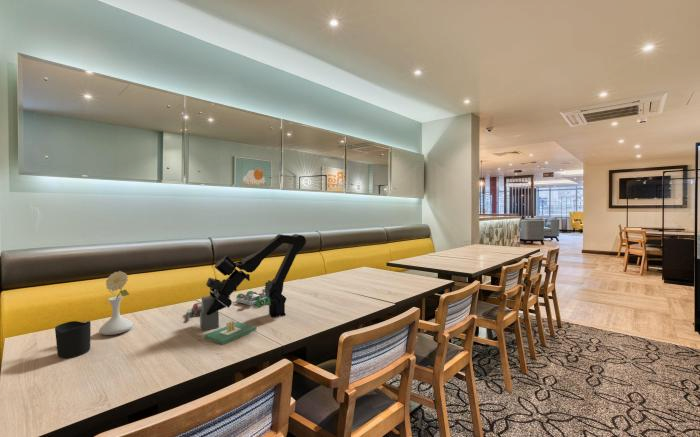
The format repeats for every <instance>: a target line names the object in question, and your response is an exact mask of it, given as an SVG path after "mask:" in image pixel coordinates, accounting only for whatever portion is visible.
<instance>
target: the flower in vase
mask: <svg viewBox="0 0 700 437" xmlns="http://www.w3.org/2000/svg"><path fill="white" fill-rule="evenodd" d="M105 281H106V282H105V285H106V289H108V292H109V293H111V294H114V295H116V296H112V297H109V298H107V301H109V303H110V304H111V305H110V306H111V308H112V316H111V317H110V318H109V320H107V321H106V322H105V323H103V324H102V326H101V327H99V330H98V332H99V333H100V334H101V335H106V336H111V335H112V336H113V335H119V334H122V333H125V332H127V331H129V330H131V329H133V328H134V323H133V322H132V321H131V320H129V319H127V318H125V317H123V316H122V315H121V313H120V305H121V301H122V300H123V298H124V297H125V296H129V295H130V293H129V292H128V290H127V289H123V290H122V288H124V287H125V285H126V284H127V282H128V281H129V279H128V274H127V273H125V272H124V271H121V270H118V271H114V272H113V273H111V274H110V275H109V276H108V277H107V279H105ZM118 290H120V291H119V292H118V293H117V292H116V291H118ZM120 294H121V295H120Z"/></svg>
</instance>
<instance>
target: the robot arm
mask: <svg viewBox="0 0 700 437" xmlns="http://www.w3.org/2000/svg"><path fill="white" fill-rule="evenodd" d="M284 244H287V252H286V253H285V256H284V257H283V259H282V262H281V264H280V265H279V268H278V270H277V272H276V273H275V276H274V278H273V279H272V280H270V279H269V280H268V281H267V282H268V283H267V285H266V284H265V286H264V289H265V293H264V295H265V294H266V296H267V297H269V299H270V300H271V301H270V304H269V303H268V314H269V315H270V317H271V318H276V317H283V316H286V312H285V311H286V310H285V308H286V307H285V306H286V305H285V304H286V301H287V297H286V296H284V294H283V291H284V283H285V280H286V279H287V275H288V274H289V271H290V269H291V267H292V266H293V263H294V261H295V258H296V257H297V254H299V253H300V252H301V251H302V250H303V248H304V247H305V246H306V244H307V239H306V237H305V236H304V235H302V234H297V233H294V234H292V235H288V234H282V233H281V234H280V233H278V234H276V236H275V237H274V238H272V239H271V240H270V241H269V242H268V243H266V244H265V245H264V246H262V247H261V248H260V249H259V250H257V251H256V252H254V253H252V254H250V255H248V256H246V257H244V258H243V259H241V260H238V261H233V260H232V259H231V258H230V257H229V256H228V255H225V256H224V257H222V258H221V259H219V260H218V261H217V262H216V263H215V265H214V267H213V268H214V269H215V270H216V271H218V272H220V273H221V274H222V275H223V276H228V277H227V278H226V279H223V280H220V279H217V278H213V277H208V278H207V281H206V284H205V285H206V287H208V288H209V296H212V297H213V298H214V303H213V304H212V306H211V307H210V309H209V310H208V311H207V313H206V314H207V315H210V314H212V313H214V312H216V311H218V312H219V311H220V310H222V309H224V308H225V309H226V308H228V309H229V308H230V307H231V306H232V304H233V302H232V300H231V295H232V293H234V292H236V291H238V289H237V288H238V287H239V286H240V285H241V284H242V282H244V281H245V279H246V281H248V282H250V281H251V279H250V275H251V274H252V273H253V272H254V271H256V270H257V268H258V267H259V266H260V264H262V262H263V260H264V259H266V258H267V257H269V255H270V254H271V253H273V252H275V250H276V249H278V248H279V247H280V246H282V245H284ZM238 269H239V270H238ZM244 271H245V272H244ZM249 273H251V274H249Z"/></svg>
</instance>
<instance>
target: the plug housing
mask: <svg viewBox="0 0 700 437" xmlns="http://www.w3.org/2000/svg"><path fill="white" fill-rule="evenodd" d="M201 302H202V311H201V312H200V316H199V326H200V327H199V328H200V329H201V331H205V330H210V329H211V330H212V329H216V328H219V327H220V324H219V322H220V321H219V320H220V319H219V316H220V313H219V310H218V311H216V312H214V313H212V314H210V315H207V314H206V313H207V311H208V310H209V309H210V307H211V306H212V304H213V303H214V298H213V297H212V296H210V295H208V296H201Z"/></svg>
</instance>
